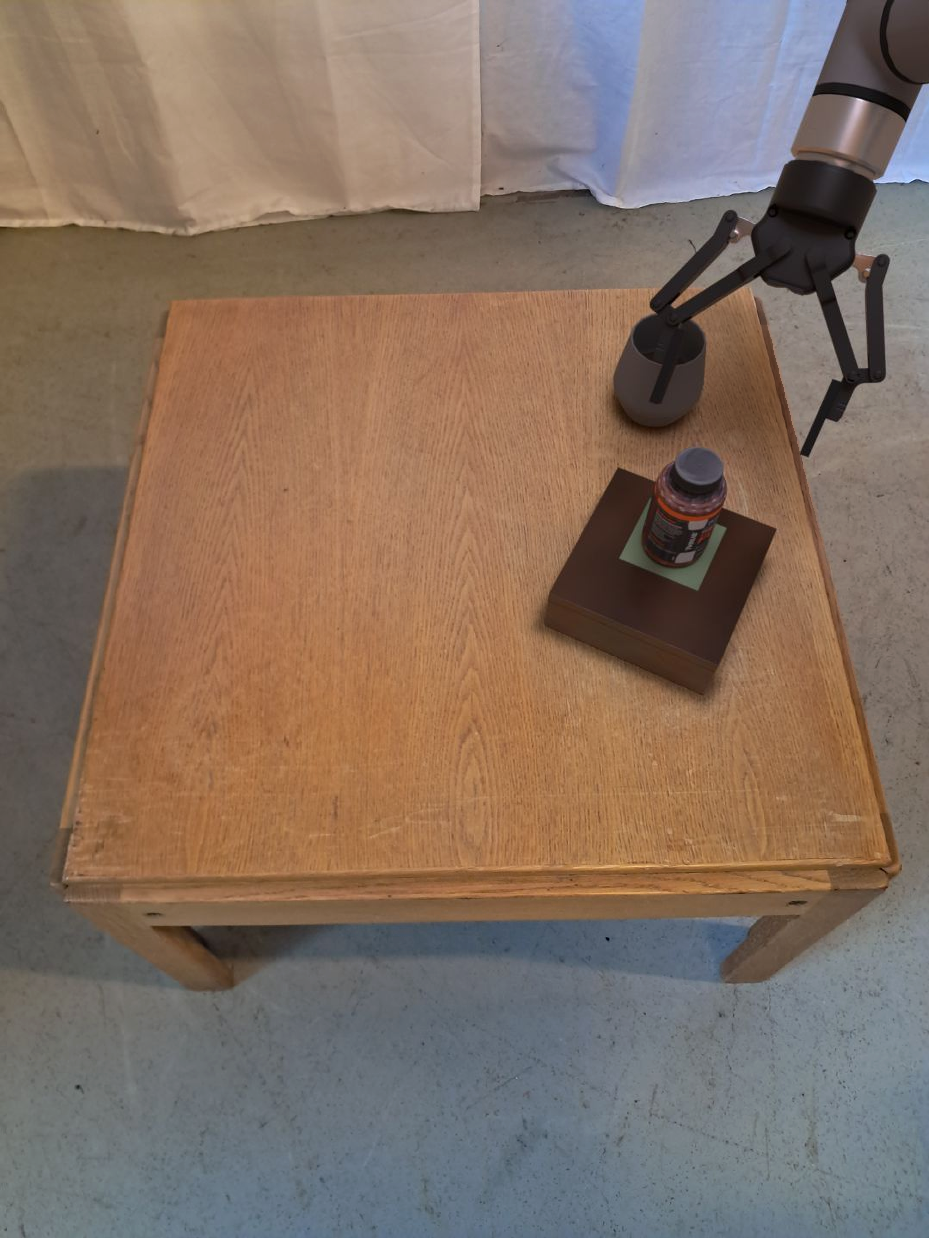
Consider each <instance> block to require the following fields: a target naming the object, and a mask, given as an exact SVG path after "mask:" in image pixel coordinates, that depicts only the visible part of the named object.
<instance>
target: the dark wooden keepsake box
mask: <svg viewBox="0 0 929 1238" xmlns="http://www.w3.org/2000/svg"><path fill="white" fill-rule="evenodd" d="M655 485H656V481H655V480H652V479H651V478H647V477H645V476H643V475H640V474H637V473H635V472H632V471H630V470H627V469H624V468H622V467H620V466H618V467H617V468H616V470H615V472H614V473H613V475H612V477H611V479H610V480H609V482H608V484H607V486H606V488H605V490H604V492H603V494H602V495H601V497H600V499H599V500H598V502H597V504H596V506H595V508H594V510H593V512H592V514H591V515H590V517H589V519H588V521H587V523H586V525H585V526H584V528H583V530H582V532H581V534H580V535H579V538H577V541H576V542H575V544H574V546H573V548H572V550H571V551H570V554H569V556H568V557H567V559H566V561H565V563H564V565H563V567H562V568H561V570H560V571H559V574H558V576H557V577H556V579H555V581H554V583H553V584H552V586H551V589H550V590H549V592H548V596H547V604H546V611H545V619H544V626H545V627H548V628H550V629H553V630H555V631H557V632H559V633H562V634H564V635H566V636H568V637H571V638H573V639H576V640H577V641H580V642H582V643H584V644H587V645H589V646H591V647H594V648H596V649H598V650H601V651H603V652H604V653H607V654H609V655H611V656H614V657H615V658H619V659H621V660H623V661H625V662H628V663H630V664H632V665H634V666H637V667H639V668H642V669H643V670H646V671H648V672H650V673H652V674H655V675H657V676H660V677H662V678H664V679H665V680H668V681H671V682H673V683H675V684H678V685H679V686H682V687H685V688H687V689H689V690H691V691H693V692H695V693H697V694H700V695H705V693H706V691H707V689H708V687H709V685H710V683H711V682H712V680H713V678H714V676H715V674H716V672H717V670H718V668H719V667H720V665H721V662H722V659H723V657H724V655H725V652H726V650H727V648H728V645H729V643H730V641H731V638H732V636H733V633H734V632H735V629H736V627H737V624H738V621H739V620H740V617H741V615H742V612H743V610H744V607H745V606H746V603H747V601H748V598H749V596H750V594H751V592H752V589H753V587H754V585H755V582H756V580H757V577H758V575H759V573H760V570H761V568H762V565H763V563H764V561H765V558H766V556H767V554H768V551H769V549H770V547H771V544H772V542H773V540H774V537H775V535H776V532H777V530H778V528H776V527H774V526H771V525H769V524H766V523H763V522H761V521H758V520H756V519H754V518H751V517H749V516H745V515H743V514H741V513H738V512H735V511H732V510H729V509H727V508H725V507H722V510H721V512H720V515H719V517H718V519H717V522H716V524H715V527H714V529H713V532H712V534H711V537H710V539H709V542H708V545H707V547H706V549H705V550H704V552H703V554H702V555H701V557H700V558H699V559H698V560H696V561H695V562H694V563H692V564H690V565H686V566H681V567H671V566H667V565H664V564H661V563H659V562H657V561H656V560H654V559H653V558H652V557H650V556H649V554H648V553H647V552H646V551H645V548H644V546H643V543H642V530H643V526H644V523H645V519H646V516H647V512H648V509H649V505H650V502H651V498H652V495H653V491H654V488H655Z"/></svg>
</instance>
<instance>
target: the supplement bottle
mask: <svg viewBox="0 0 929 1238" xmlns="http://www.w3.org/2000/svg"><path fill="white" fill-rule="evenodd" d="M724 468H725V467H724V462H723V460H722V459H721V457H720V456H719V454H717V453H716V452H715V451H713V450H711V449H709V448H707V447H703V446H690V447H687V448H684V449H683V450H681V451H680V452H679V453H678V454H677V455H676V456H675V459H674V460H673V461H670V462H669V463H667V464H666V465H665V466H664V467H663V468H662V470H660V472H659V474H658V476H657V478H656V481H655V482H656V485H655V488H654V491H653V495H652V498H651V502H650V505H649V509H648V512H647V516H646V519H645V523H644V526H643V530H642V543H643V546H644V548H645V551H646V552H647V553H648V554H649V556H650V557H652V558H653V559H654V560H656V561H657V562H659V563H661V564H664V565H667V566H671V567H681V566H686V565H690V564H692V563H694V562H695V561H696V560H698V559H699V558H700V557H701V555H702V554H703V552H704V550H705V549H706V547H707V545H708V542H709V539H710V537H711V534H712V532H713V529H714V527H715V524H716V522H717V519H718V517H719V515H720V512H721V510H722V508H724V504H725V503H726V502H725V501H726V499H727V496H728V483H727V481H726V478H725V476H724V475H723V474H724Z"/></svg>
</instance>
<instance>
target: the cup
mask: <svg viewBox="0 0 929 1238" xmlns="http://www.w3.org/2000/svg"><path fill="white" fill-rule="evenodd" d="M663 327H664V321H663V319H662V318H661V317H660V316H659V315H658V314H657V313H655V312H653V313H650V314H648V315H646V316H643V317H642V318H640V319H639V320H638V321H637V322H636V323H635V324H634V325H633V326H632V328H631V331H630V334H629V336H628V338H627V340H626V343H625V345H624V347H623V350H622V352H621V354H620V357H619V359H618V361H617V364H616V366H615V370H614V373H613V375H612V381H613V390H614V394H615V396H616V399H617V400H618V401H619V403H620V405H621V407H622V408H623V410H624V412H625V413H626V415H627V417H628V418H630V419H631V420H632V421H634V422H635V423H637V424H640V425H641V426H643V427H651V428H660V427H661V428H662V427H666V426H668V425H671V424H672V423H674V422H676V421H677V420H679V419H681V418H682V417H683V416H685V415H686V414H688V413H689V412H690V411H691V410H692V409H693V408H694V406H695V405H696V404H697V403H698V402H699V400H700V399H701V396H702V393H703V389H704V386H705V385H704V384H705V372H706V358H707V343H708V342H707V338H706V333H705V331H704V330H703V329H702V327H701V326H700V325H699V323H697V322H696V321H695V320H693V319H690V320H688V321H687V322H685V323H684V324H682V325H681V327H680V329H682V330H685V331H687V332H688V334H687V337H686V340H685V342H684V345H683V348H682V350H681V353H680V356H679V358H678V361H677V364H676V366H675V369H674V372H673V374H672V377H671V379H670V382H669V385H668V387H667V390H666V393H665V395H664V398H663V401H662V403H661V404H654V403H651V402H649V400H650V397H651V394H652V392H653V389H654V386H655V384H656V381H657V378H658V375H659V373H660V370H661V367H662V365H663V363H660V362H657V361H654V351H655V349H656V346H657V343H658V341H659V338H660V335H661V332H662V330H663Z"/></svg>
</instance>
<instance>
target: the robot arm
mask: <svg viewBox="0 0 929 1238" xmlns="http://www.w3.org/2000/svg"><path fill="white" fill-rule="evenodd" d="M928 84H929V0H846V1H845V6H844V9H843V12H842V15H841V17H840V19H839V23H838V25H837V28H836V30H835V32H834V36H833V38H832V41H831V43H830V47H829V49H828V51H827V54H826V57H825V60H824V62H823V64H822V67H821V71H820V72H819V76H818V78H817V80H816V84H815V86H814V89H813V91H812V95H811V97H810V98H809V100H808V103H807V105H806V108H805V109H804V110H805V111H804V113H803V116H802V119H801V121H800V123H799V126H798V129H797V131H796V135H795V137H794V139H793V142H792V145H791V147H790V153H791V156H792V157H793V158H794V159H791V160H788V162H787V163H784V165H783V167H782V169H781V173H780V174H779V178H778V180H777V183H776V185H775V188H774V190H773V193H772V196H771V198H770V201H769V204H768V206H767V208H766V211H765V213H764V215H762V217H761V219H760V220H759V221H758V222H757V223H756V222H754V221H752V220H749V219H747V218H745V217H743V216H740V215H739V214H738V212H737V211H736V210H735V209H727V210H726V211H725V212H723V214H722V216H721V219H720V221H719V222H718V225H717V227H716V229H715V231H714V233H713V235H711V237H710V238H709V239H708V240H706V242H705V243H704V244H703V245H702V246H701V247H700V248H699V249H697V251H696V252H695V253H694V254H693V255H692V256H691V257H690V258H689V260H687V262H686V263H684V264H683V266H682V267H680V269H679V270H677V272H676V273H675V274H674V275H673V276H671V278H670V279H669V280H668V281H667V282H666V283H665V284H664V285H663V286H662V288H661V289H659V290H658V291H657V293H655V295H653V296H652V298H651V299H650V301H649V304H648V306H649V308H650V310H651V311H653V313H657V314H658V315H659V316H660V317H661V318H662V319H663V321H664V327H663V330H662V332H661V335H660V338H659V341H658V343H657V346H656V349H655V351H654V361H657V362H660V363H663V365H662V367H661V370H660V373H659V375H658V378H657V381H656V384H655V386H654V389H653V392H652V394H651V397H650V400H649V402H651V403H654V404H661V403H662V401H663V398H664V395H665V393H666V390H667V387H668V385H669V382H670V379H671V377H672V374H673V372H674V369H675V366H676V364H677V361H678V358H679V356H680V353H681V350H682V348H683V345H684V342H685V340H686V337H687V334H688V332H687V331H685V330H682V329H680V327H681V325H682V324H684V323H685V322H687V321H688V320H690V319H691V320H693V319H694V318H695V317H696V316H698V315H699V314H702V313H703V312H704V311H706V310H707V309H709V308H711V307H712V306H714V305H715V304H717V303H718V302H720V301H722V300H724V299H725V298H726V297H728V296H729V295H731V294H732V293H734V292H736V291H737V290H739V289H741V288H742V287H744V286H746V285H748V284H750V283H752V282H753V281H754V280H757V279H758V278H759V277H760V279H761V280H762V282H763V283H764V284H766V285H767V286H768V287H771V288H776V289H787V290H788V291H790V292H791V293H793V294H795V295H798V296H802V297H803V296H809V295H812V294H815V293H816V297H817V299H818V304H819V306H820V308H821V312H822V315H823V318H824V321H825V324H826V327H827V331H828V334H829V336H830V340H831V343H832V346H833V349H834V353H835V355H836V359H837V361H838V365H839V368H840V372H841V374H842V378H841V380H837V379H834V378H832V379H831V381H830V384H829V385H828V387H827V390H826V392H825V394H824V397H823V399H822V402H821V404H820V406H819V408H818V411H817V413H816V415H815V417H814V420H813V422H812V424H811V427H810V429H809V431H808V434H807V436H806V438H805V440H804V443H803V444H802V447H801V449H800V452H799V455H800V456H803V457H806V458H809V457H810V455H811V453H812V451H813V448H814V446H815V444H816V442H817V439H818V438H819V435H820V433H821V431H822V429H823V426H824V424H825V422H826V420H829V421H832V422H835V423H838V422H840V420H841V419H842V418H843V416H844V413H845V412H846V409H847V407H848V405H849V403H850V400H851V398H852V396H853V394H854V392H855V389H856V388H857V387H858V386H860V385H863V384H879V383H882V382H884V380H885V379H886V377H887V369H886V368H887V366H886V365H887V362H886V361H887V360H886V341H885V340H886V339H885V338H886V337H885V336H886V335H885V315H884V314H885V313H884V311H885V310H884V291H883V290H884V289H883V288H884V287H883V285H884V282H885V279H886V276H887V272H888V270H889V267H890V263H891V258H890V256H889V255H888V254H885V253H880V254H878V255H873V254H866V253H861V252H856V242H857V239H858V237H859V235H860V233H861V230H862V228H863V225H864V223H865V221H866V219H867V216H868V214H869V211H870V210H871V207H872V204H873V202H874V200H875V197H876V196H877V192H878V189H877V186H876V183H875V182H874V181H877V180H878V179H879V180H880V179H881V178H883V177H884V175H885V173H886V171H887V168H888V166H889V164H890V162H891V159H892V157H893V155H894V153H895V151H896V147H897V145H898V143H899V141H900V139H901V136H902V134H903V132H904V130H905V127H906V125H907V122H908V120H909V117H910V114H911V113H912V110H913V107H914V106H915V104H916V101H917V99H918V97H919V94H920V92H921V89H922V88H923V86H924V85H928ZM745 237H750V241H751V245H752V249H753V253H754V256H753V257H751V258H750V259H749V260H747V261H745V262H744V263H742V264H741V265H739V266H738V267H737V268H736V269H734V270H733V271H731V272H730V273H728V274H726V275H724V276H723V277H722V278H720V279H719V280H716V281H715V282H714V283H712V284H711V285H710V286H708V287H706V288H705V289H703V290H701V291H700V292H699V293H697V294H695V295H694V296H692V297H691V298H689V299H687V300H686V301H685V302H683V303H681V304H680V305H678V306H677V307H674V306H673V304H674V303H675V302H676V301H677V299H679V297H680V296H682V294H684V292H685V291H686V290H688V288H689V287H691V285H692V284H693V283H694V282H695V281H696V280H697V279H699V277H700V276H701V275H702V274H703V273H704V272H705V271H706V270H707V269H708V268H709V267H710V266H711V265H712V264H713V263H714V262H715V261H716V260H717V259H718V258H719V257H720V256H721V254H723V252H724V251H725V250H726V249H727V247H728V246H729V245H730V244H731V245H737V244H738V243H739V242H740V241H741V240H742V239H743V238H745ZM850 268H854V269H856V271H857V280H858V281H859V283H861V284H864V285H865V286H864V287H865V288H864V312H865V335H866V336H865V337H866V338H865V339H866V354H867V355H866V357H867V358H866V359H867V367H859V365H858V362H857V359H856V356H855V352H854V349H853V346H852V344H851V341H850V337H849V334H848V330H847V327H846V324H845V321H844V319H843V315H842V312H841V309H840V305H839V302H838V299H837V295H836V292H835V289H834V286H833V280H835V279H837V278H838V277H839V276H841V275H842V274H844V273H845V272H847V271H848V270H849V269H850Z"/></svg>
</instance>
